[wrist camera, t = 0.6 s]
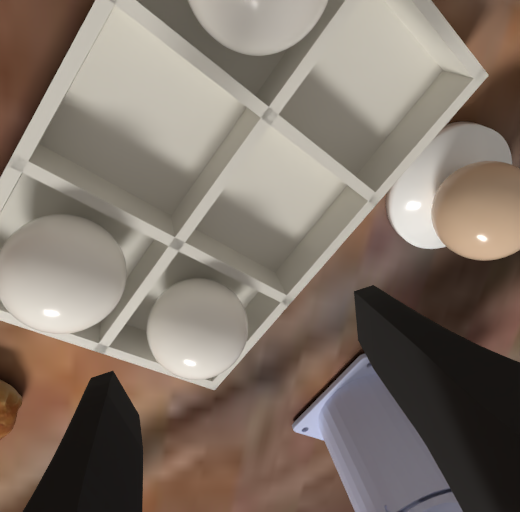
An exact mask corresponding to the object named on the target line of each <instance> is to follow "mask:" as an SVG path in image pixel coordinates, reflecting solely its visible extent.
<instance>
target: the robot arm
mask: <svg viewBox="0 0 520 512" xmlns="http://www.w3.org/2000/svg"><path fill="white" fill-rule="evenodd" d="M354 296H355V308H356V319H357V331H358V341H359V342H360V344H361V346H362V348H363V350H364V352H365V354H362V355H360V356H359V357H358V358H357V359H356V360H355V361H354V362H353V363H352V364H351V365H350V366H349V367H348V368H347V369H346V370H345V371H344V372H343V373H342V374H341V375H340V376H339V377H338V378H337V379H336V380H335V381H334V382H333V383H332V384H331V385H330V386H329V387H328V388H327V389H326V390H325V391H324V392H323V393H322V394H321V395H320V396H319V397H318V398H317V399H316V400H315V401H314V402H313V403H312V404H311V405H310V406H309V407H308V408H307V410H306V411H305V412H304V413H303V414H302V415H301V416H300V417H299V418H298V419H297V420H296V421H295V422H294V423H293V424H292V427H293V430H294V431H295V432H297V433H301V434H304V435H307V436H311V437H314V438H317V439H321V440H324V441H325V443H326V446H327V448H328V450H329V452H330V455H331V457H332V459H333V462H334V464H335V466H336V469H337V471H338V473H339V476H340V478H341V480H342V483H343V485H344V487H345V489H346V492H347V494H348V496H349V499H350V501H351V503H352V506H353V508H354V510H355V512H520V362H517V361H514V360H512V359H509V358H507V357H505V356H502V355H500V354H498V353H495V352H493V351H491V350H488V349H486V348H484V347H481V346H479V345H477V344H475V343H473V342H471V341H469V340H467V339H465V338H463V337H461V336H459V335H457V334H455V333H453V332H451V331H449V330H447V329H446V328H444V327H442V326H440V325H438V324H437V323H435V322H433V321H431V320H430V319H428V318H426V317H424V316H423V315H421V314H419V313H417V312H416V311H414V310H412V309H411V308H409V307H408V306H406V305H404V304H403V303H401V302H399V301H398V300H396V299H395V298H393V297H391V296H390V295H388V294H387V293H385V292H384V291H382V290H380V289H379V288H377V287H375V286H374V285H372V286H369V287H366V288H363V289H360V290H357V291H354ZM142 492H143V446H142V435H141V427H140V419H139V414H138V412H137V411H136V409H135V407H134V406H133V404H132V402H131V401H130V399H129V397H128V395H127V394H126V392H125V390H124V389H123V387H122V385H121V384H120V382H119V380H118V378H117V377H116V375H115V373H114V372H113V371H111V372H108V373H105V374H102V375H99V376H96V377H93V378H91V379H90V381H89V383H88V385H87V387H86V389H85V392H84V394H83V396H82V398H81V400H80V403H79V405H78V407H77V409H76V411H75V414H74V416H73V418H72V420H71V422H70V424H69V426H68V428H67V430H66V433H65V435H64V437H63V439H62V441H61V443H60V445H59V447H58V449H57V451H56V453H55V455H54V457H53V459H52V461H51V462H50V464H49V466H48V468H47V470H46V472H45V473H44V475H43V477H42V479H41V481H40V482H39V484H38V486H37V488H36V490H35V492H34V493H33V495H32V497H31V498H30V500H29V502H28V503H27V505H26V507H25V508H24V510H23V512H142Z"/></svg>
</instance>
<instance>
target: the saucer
mask: <svg viewBox="0 0 520 512" xmlns="http://www.w3.org/2000/svg"><path fill="white" fill-rule="evenodd" d="M481 161H499V162H505V163H508V164H511V165H512V157H511V152H510V149H509V146H508V144H507V142H506V141H505V139H504V138H503V137H502V136H501V135H500V134H499V133H498V132H496V131H494V130H493V129H490V128H488V127H485V126H482V125H480V124H477V123H473V122H462V121H461V122H453V123H450V124H446V125H445V126H444V127H443V129H442V130H441V131H440V132H439V133H438V134H437V136H436V137H435V138H434V139H433V140H432V141H431V142H430V144H429V145H428V146H427V147H426V148H425V149H424V150H423V152H422V153H421V154H420V155H419V156H418V157H417V158H416V160H415V161H414V162H413V163H412V164H411V165H410V167H409V168H408V169H407V170H406V171H405V172H404V173H403V175H402V176H401V177H400V178H399V179H398V180H397V181H396V183H395V184H394V185H393V186H392V187H391V188H390V189H389V191H388V192H387V193H386V212H387V217H388V220H389V222H390V224H391V226H392V227H393V229H394V230H395V231H396V232H397V233H398V234H399V235H400V236H401V237H403V238H404V239H405V240H406V241H407V242H409V243H410V244H412V245H414V246H416V247H420V248H425V249H437V248H442V247H446V246H445V245H444V244H443V243H442V242H441V240H440V239H439V237H438V236H437V234H436V232H435V230H434V228H433V224H432V219H431V207H432V202H433V199H434V196H435V194H436V191H437V190H438V188H439V186H440V185H441V184H442V182H443V181H444V180H445V179H446V178H447V177H448V176H449V175H451V174H452V173H453V172H455V171H456V170H458V169H460V168H461V167H464V166H466V165H469V164H472V163H475V162H481Z"/></svg>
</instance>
